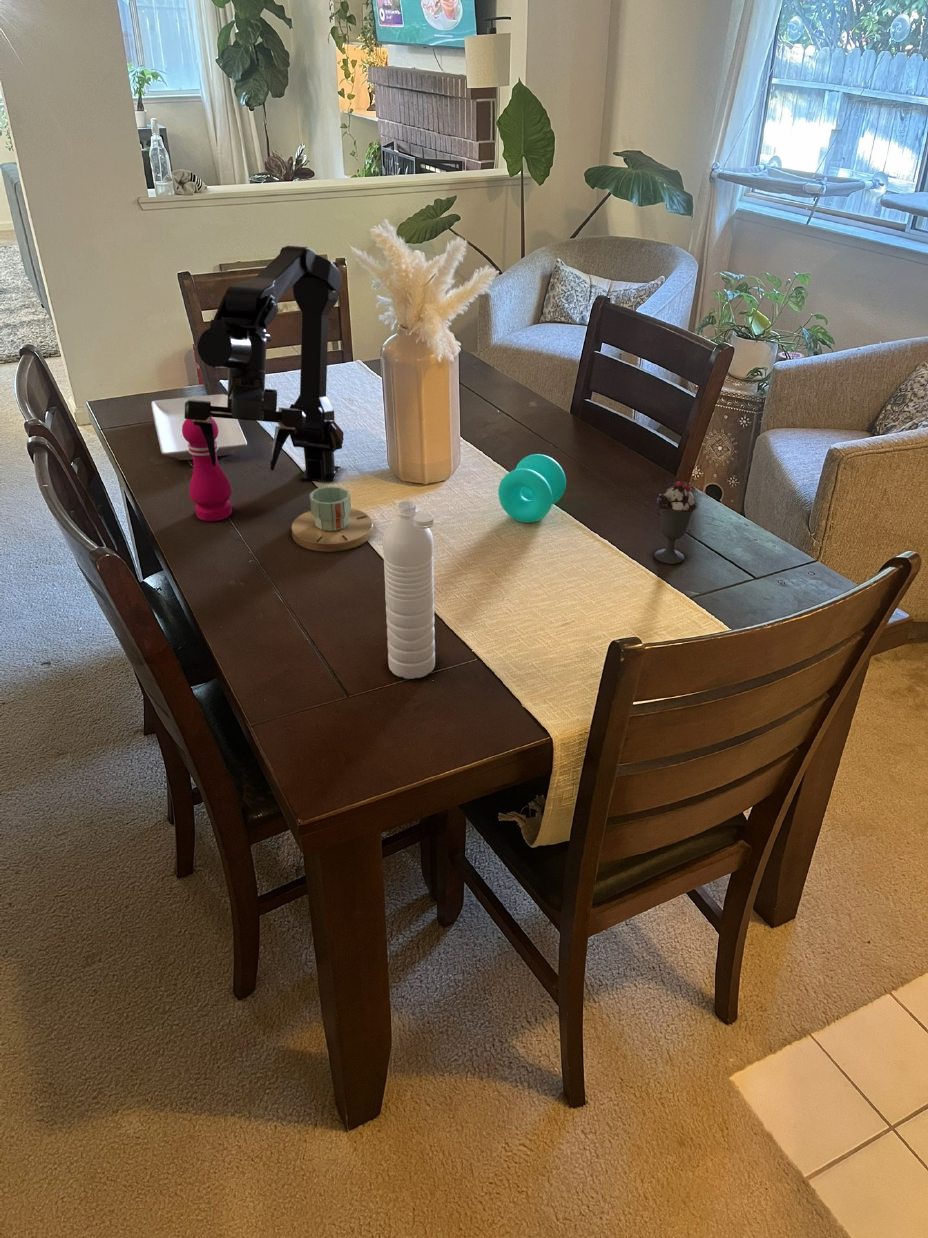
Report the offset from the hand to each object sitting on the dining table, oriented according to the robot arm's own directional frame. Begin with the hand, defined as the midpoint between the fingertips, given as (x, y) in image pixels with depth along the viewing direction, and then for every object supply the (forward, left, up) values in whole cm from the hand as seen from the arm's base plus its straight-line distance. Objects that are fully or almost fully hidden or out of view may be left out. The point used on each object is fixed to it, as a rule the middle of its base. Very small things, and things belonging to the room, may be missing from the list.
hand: (243, 468), depth 150 cm
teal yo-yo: (-17, +47, -14) cm, 52 cm away
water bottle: (+33, +34, -14) cm, 49 cm away
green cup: (-5, +13, -12) cm, 18 cm away
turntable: (-5, +13, -14) cm, 19 cm away
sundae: (-4, +71, -14) cm, 72 cm away
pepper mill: (-9, -10, -14) cm, 19 cm away
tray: (-44, -26, -14) cm, 53 cm away
